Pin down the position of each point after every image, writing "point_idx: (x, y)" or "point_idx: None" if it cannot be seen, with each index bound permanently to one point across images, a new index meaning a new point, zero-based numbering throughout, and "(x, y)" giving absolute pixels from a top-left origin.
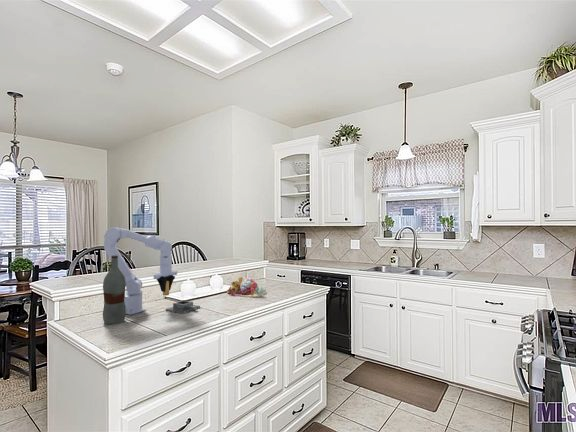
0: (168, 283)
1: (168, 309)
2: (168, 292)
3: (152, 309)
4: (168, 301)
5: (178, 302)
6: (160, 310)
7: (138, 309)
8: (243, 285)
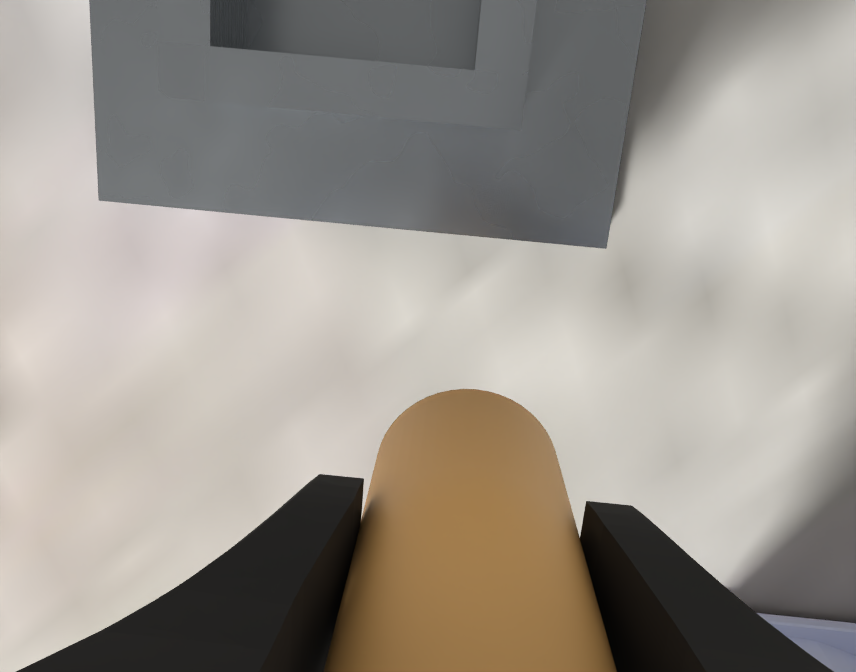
0: (461, 660)
1: (618, 168)
2: (453, 426)
3: None
4: (28, 623)
5: (382, 62)
6: (592, 365)
7: (830, 664)
8: None
